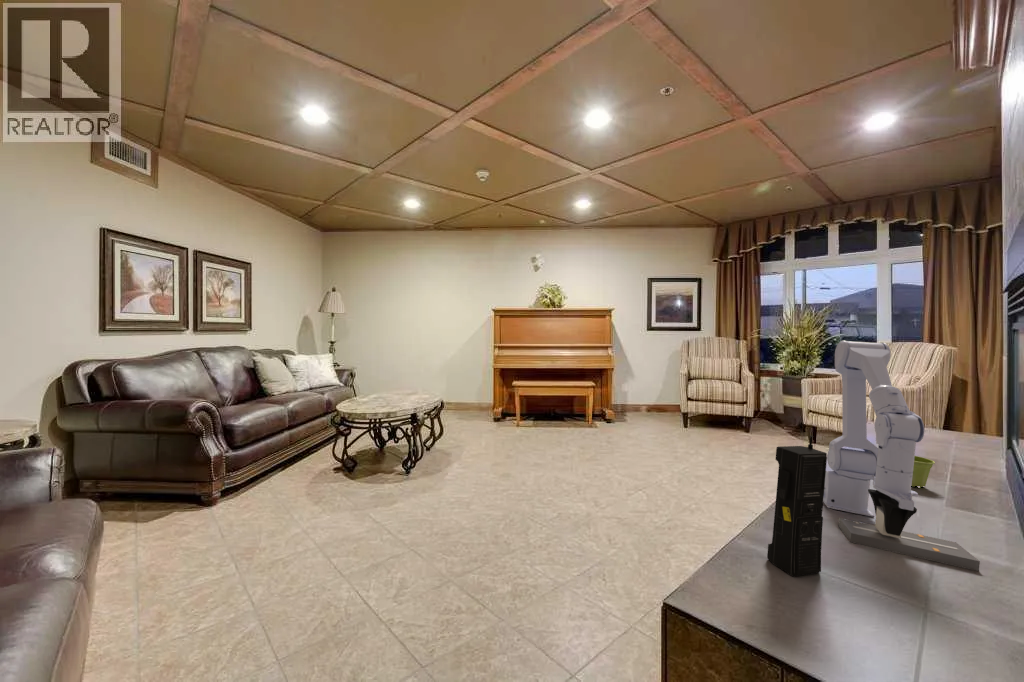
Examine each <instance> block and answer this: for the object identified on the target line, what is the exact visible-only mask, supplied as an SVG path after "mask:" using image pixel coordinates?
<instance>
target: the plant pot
mask: <svg viewBox="0 0 1024 682" xmlns="http://www.w3.org/2000/svg"><path fill="white" fill-rule="evenodd" d="M935 463H936V462H935V461H934V460H932V459H929V458H926V457H922V456H919V455H918V456H917V455H915V457H914V466H913V476H912V487H915V486H920V487H923V486H925V487H926V485H927V481H928V478H929V475H930V471H931V469H932V468H933V466H934V465H935Z"/></svg>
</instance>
